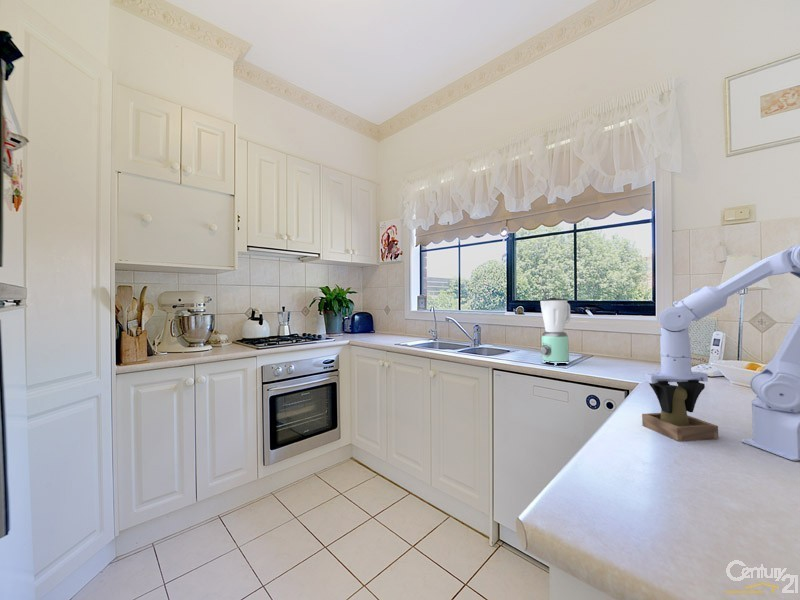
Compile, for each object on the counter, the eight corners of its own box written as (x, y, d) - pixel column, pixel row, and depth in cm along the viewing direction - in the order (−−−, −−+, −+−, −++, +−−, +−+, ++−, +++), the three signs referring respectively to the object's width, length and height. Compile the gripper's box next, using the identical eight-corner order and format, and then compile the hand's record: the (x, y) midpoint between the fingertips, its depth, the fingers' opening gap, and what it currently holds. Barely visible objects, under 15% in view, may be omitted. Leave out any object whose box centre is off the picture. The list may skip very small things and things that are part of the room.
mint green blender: (553, 367, 165) (551, 297, 166) (533, 363, 177) (531, 298, 178) (580, 364, 172) (578, 297, 173) (559, 360, 184) (557, 298, 185)
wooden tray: (718, 439, 76) (717, 426, 76) (677, 441, 75) (677, 427, 75) (678, 423, 86) (678, 412, 86) (642, 425, 85) (642, 413, 85)
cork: (695, 436, 77) (693, 389, 77) (663, 433, 80) (662, 387, 80) (685, 427, 83) (683, 384, 83) (655, 424, 85) (654, 382, 85)
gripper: (687, 352, 85) (689, 405, 85) (634, 354, 84) (636, 407, 84) (715, 356, 78) (717, 414, 78) (658, 358, 77) (660, 416, 77)
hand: (677, 411), depth 80 cm, fingers closed on cork, 5 cm apart
